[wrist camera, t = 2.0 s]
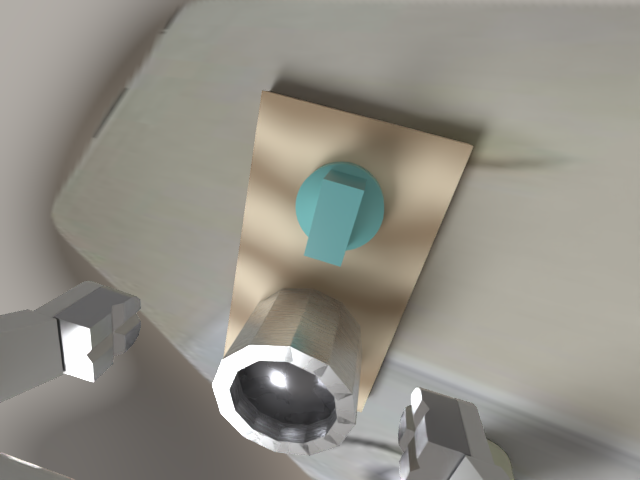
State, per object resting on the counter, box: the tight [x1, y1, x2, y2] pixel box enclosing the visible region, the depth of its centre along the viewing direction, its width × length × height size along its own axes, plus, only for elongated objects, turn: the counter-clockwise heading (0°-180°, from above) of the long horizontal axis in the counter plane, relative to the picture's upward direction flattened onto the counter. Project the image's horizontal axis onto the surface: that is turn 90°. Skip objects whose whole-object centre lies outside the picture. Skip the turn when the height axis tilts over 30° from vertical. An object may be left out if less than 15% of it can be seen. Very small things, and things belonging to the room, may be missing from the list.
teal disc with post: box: [295, 161, 384, 267], centre depth 21 cm, size 6×6×4 cm
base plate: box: [224, 91, 473, 412], centre depth 27 cm, size 25×14×2 cm, turn 167°
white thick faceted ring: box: [212, 288, 363, 456], centre depth 25 cm, size 10×10×7 cm
